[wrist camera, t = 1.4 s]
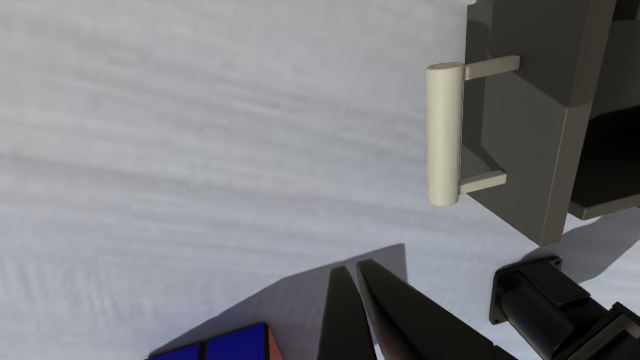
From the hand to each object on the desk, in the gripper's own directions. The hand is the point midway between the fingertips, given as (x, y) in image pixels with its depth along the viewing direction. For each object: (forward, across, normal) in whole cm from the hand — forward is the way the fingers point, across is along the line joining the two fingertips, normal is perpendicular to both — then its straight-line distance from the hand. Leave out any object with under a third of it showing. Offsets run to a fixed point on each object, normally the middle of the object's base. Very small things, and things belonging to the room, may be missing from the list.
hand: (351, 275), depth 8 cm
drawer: (+11, -15, 0) cm, 19 cm away
